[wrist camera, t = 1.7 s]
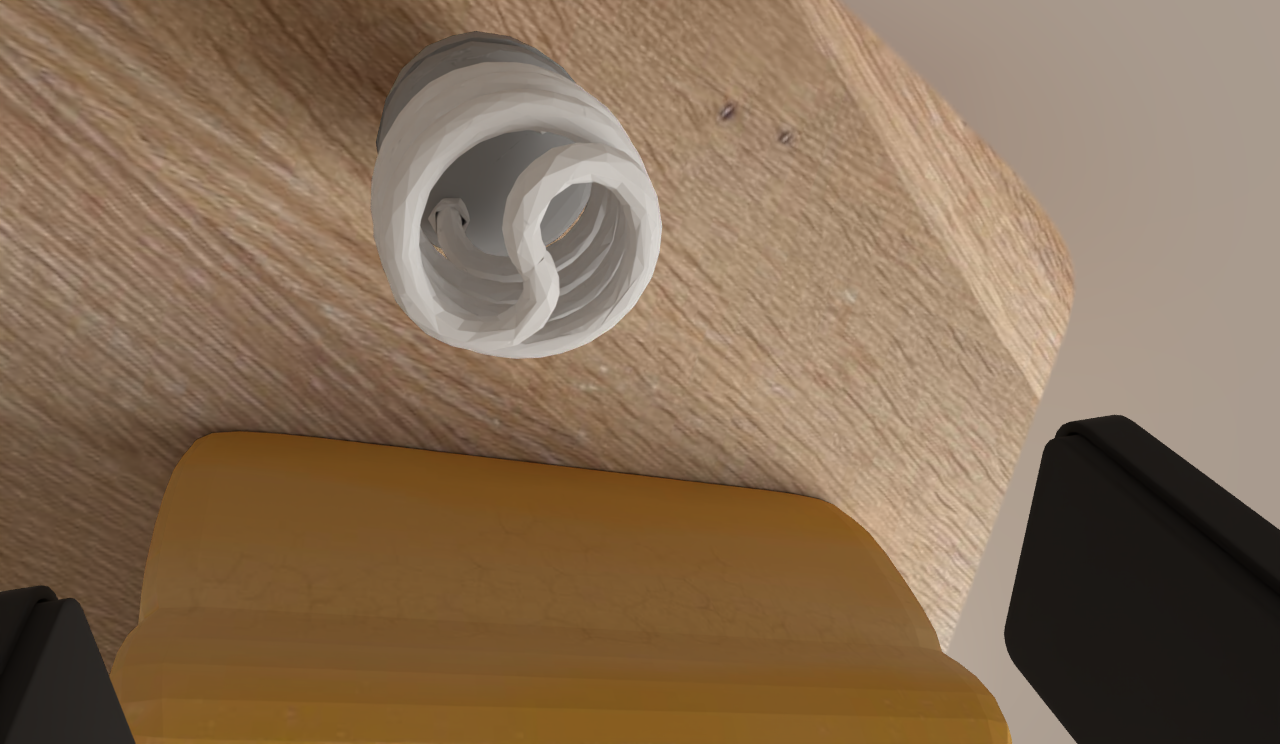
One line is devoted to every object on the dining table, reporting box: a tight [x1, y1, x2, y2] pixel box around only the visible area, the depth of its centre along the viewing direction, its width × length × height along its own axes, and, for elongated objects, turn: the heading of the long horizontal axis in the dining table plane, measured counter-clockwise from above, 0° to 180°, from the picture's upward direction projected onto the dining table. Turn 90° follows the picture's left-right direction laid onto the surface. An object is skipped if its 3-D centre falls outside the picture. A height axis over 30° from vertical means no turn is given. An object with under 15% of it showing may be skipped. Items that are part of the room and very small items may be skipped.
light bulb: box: [371, 31, 662, 359], centre depth 22 cm, size 6×6×12 cm
